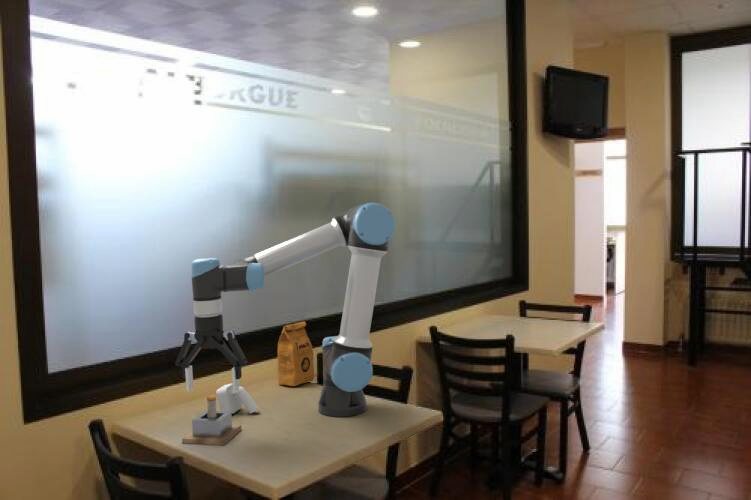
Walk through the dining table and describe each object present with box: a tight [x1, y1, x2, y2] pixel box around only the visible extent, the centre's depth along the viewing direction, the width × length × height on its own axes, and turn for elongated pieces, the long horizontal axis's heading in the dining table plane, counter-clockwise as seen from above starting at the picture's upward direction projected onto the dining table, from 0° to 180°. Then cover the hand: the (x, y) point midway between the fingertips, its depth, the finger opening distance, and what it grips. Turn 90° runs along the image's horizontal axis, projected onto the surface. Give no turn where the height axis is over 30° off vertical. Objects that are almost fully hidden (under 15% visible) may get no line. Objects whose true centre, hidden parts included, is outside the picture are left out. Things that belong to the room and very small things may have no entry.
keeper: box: [181, 394, 242, 446], centre depth 172 cm, size 12×12×11 cm
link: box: [191, 410, 233, 438], centre depth 172 cm, size 8×8×4 cm
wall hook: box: [215, 383, 259, 415], centre depth 192 cm, size 8×10×10 cm
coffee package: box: [276, 321, 315, 387], centre depth 224 cm, size 10×12×22 cm
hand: (213, 390), depth 172 cm, fingers open, 13 cm apart
